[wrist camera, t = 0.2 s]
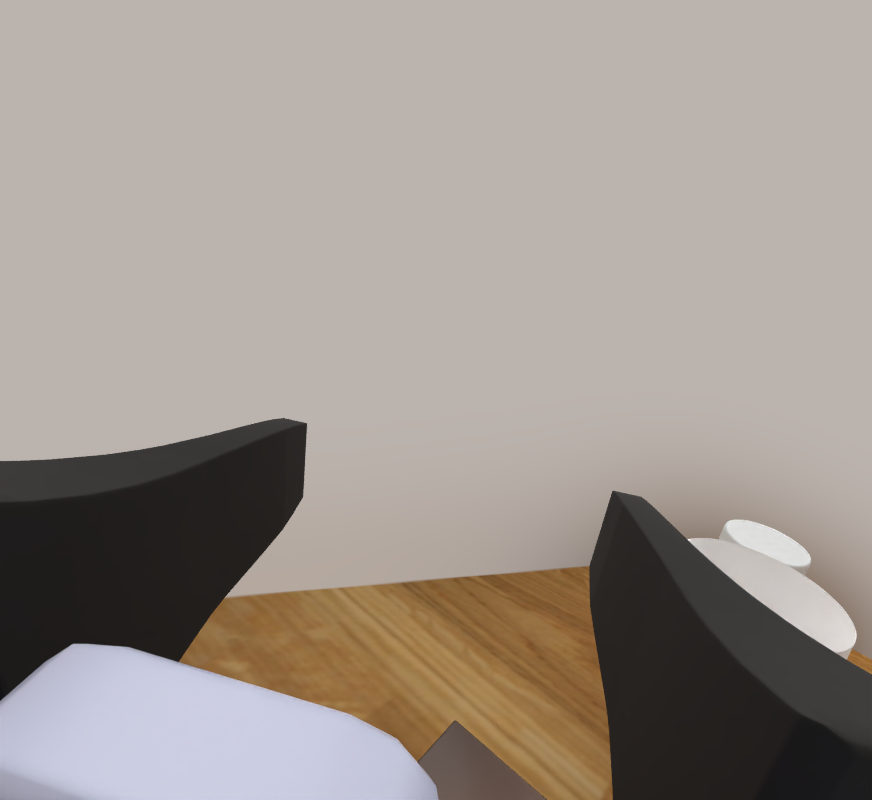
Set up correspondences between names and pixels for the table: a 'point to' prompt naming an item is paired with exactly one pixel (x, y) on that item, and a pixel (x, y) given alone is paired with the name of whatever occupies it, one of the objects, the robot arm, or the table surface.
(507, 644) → the table surface
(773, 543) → the pill bottle
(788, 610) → the cup
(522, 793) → the cabinet
